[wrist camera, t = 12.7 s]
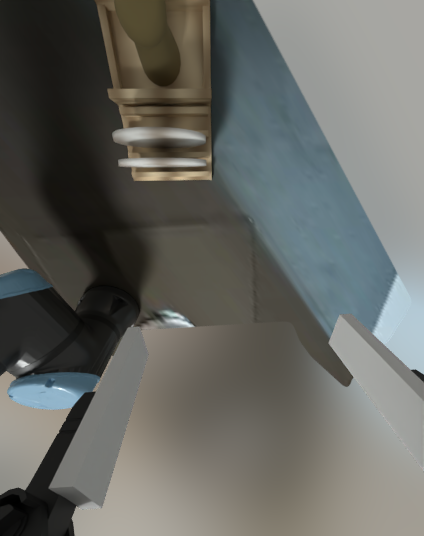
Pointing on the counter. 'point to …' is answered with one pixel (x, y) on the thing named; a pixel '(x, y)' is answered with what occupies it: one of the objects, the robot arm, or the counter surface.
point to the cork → (151, 38)
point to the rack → (163, 97)
